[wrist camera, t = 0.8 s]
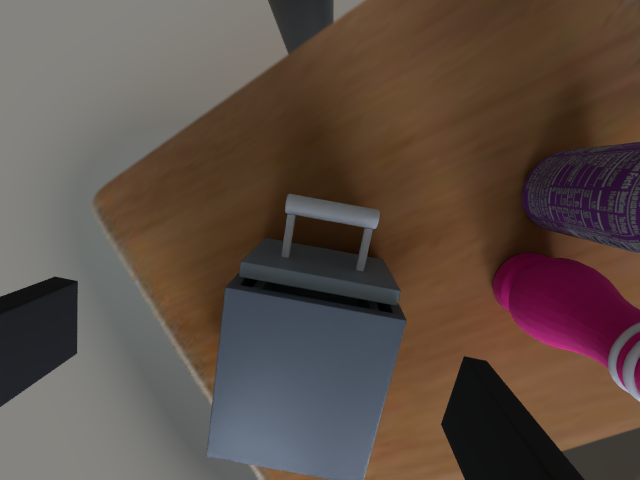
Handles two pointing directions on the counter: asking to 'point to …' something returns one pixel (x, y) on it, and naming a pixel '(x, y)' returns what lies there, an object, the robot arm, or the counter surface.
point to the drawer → (323, 260)
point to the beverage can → (588, 194)
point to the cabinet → (301, 381)
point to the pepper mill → (573, 312)
